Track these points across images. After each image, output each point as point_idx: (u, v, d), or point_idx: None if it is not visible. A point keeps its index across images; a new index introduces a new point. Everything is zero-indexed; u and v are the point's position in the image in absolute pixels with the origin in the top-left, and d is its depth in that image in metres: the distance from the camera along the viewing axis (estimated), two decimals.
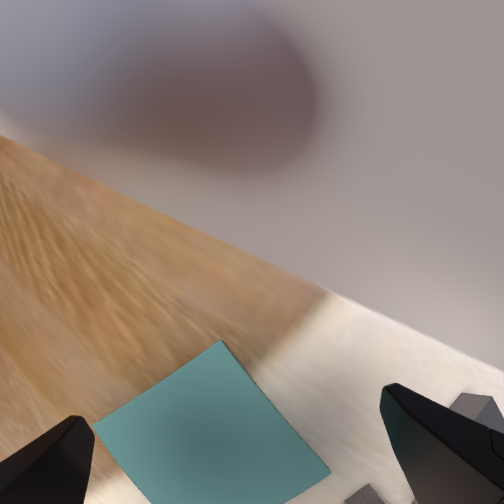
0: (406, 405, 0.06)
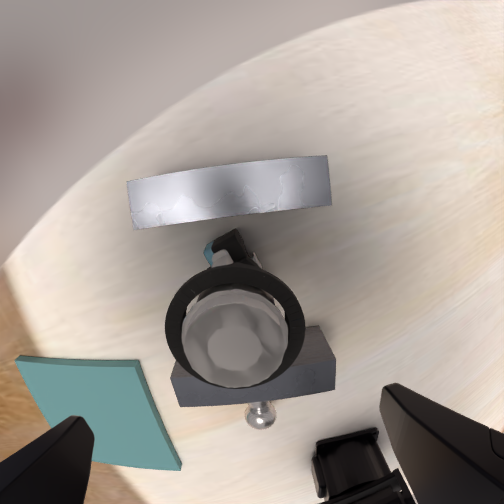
0: (406, 405, 0.06)
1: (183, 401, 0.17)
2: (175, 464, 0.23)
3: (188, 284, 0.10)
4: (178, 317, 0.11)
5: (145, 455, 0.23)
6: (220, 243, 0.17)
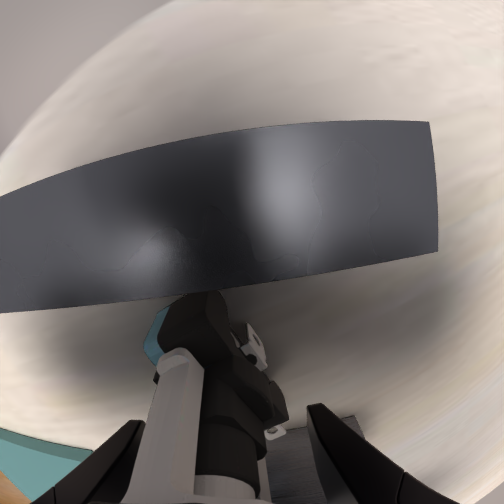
0: (320, 430, 0.06)
1: None
2: None
3: None
4: None
5: None
6: (174, 329, 0.07)
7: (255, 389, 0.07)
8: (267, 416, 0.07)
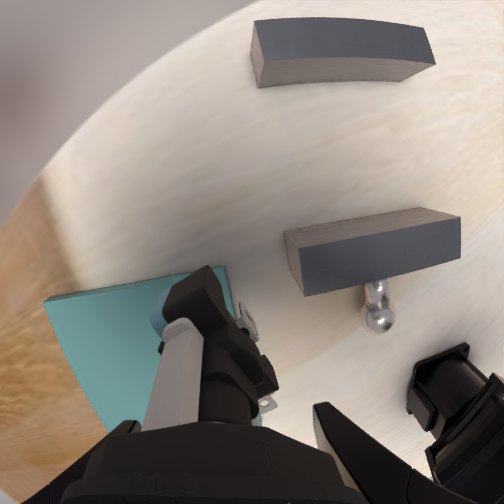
0: (327, 428, 0.06)
1: (310, 285, 0.14)
2: None
3: (76, 500, 0.02)
4: None
5: None
6: (177, 302, 0.09)
7: (248, 353, 0.08)
8: (259, 379, 0.08)
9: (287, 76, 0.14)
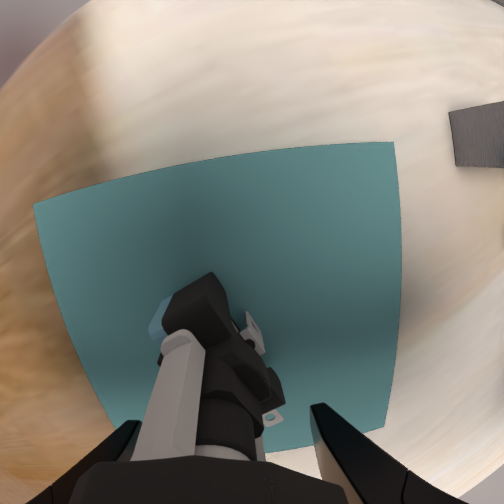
0: (324, 429, 0.06)
1: None
2: (383, 413, 0.13)
3: None
4: None
5: None
6: (178, 312, 0.08)
7: (253, 368, 0.07)
8: (264, 396, 0.07)
9: None
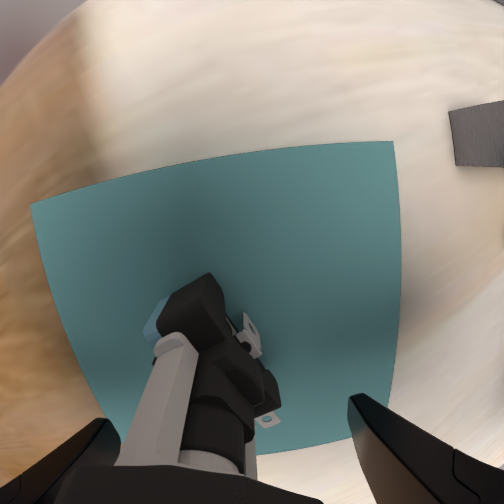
0: (368, 418, 0.06)
1: None
2: None
3: None
4: None
5: (332, 411, 0.12)
6: (172, 315, 0.08)
7: (245, 373, 0.07)
8: (257, 400, 0.07)
9: None
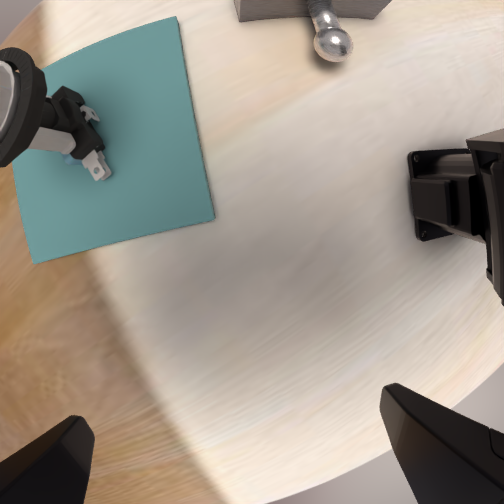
0: (406, 405, 0.06)
1: None
2: (206, 199, 0.17)
3: None
4: None
5: (156, 188, 0.17)
6: (51, 96, 0.13)
7: (66, 99, 0.12)
8: (70, 114, 0.12)
9: None
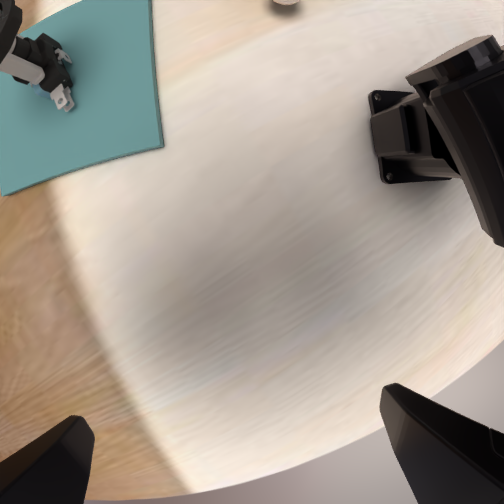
0: (406, 405, 0.06)
1: None
2: (154, 126, 0.16)
3: None
4: None
5: (111, 118, 0.16)
6: None
7: (42, 40, 0.11)
8: (43, 51, 0.11)
9: None
